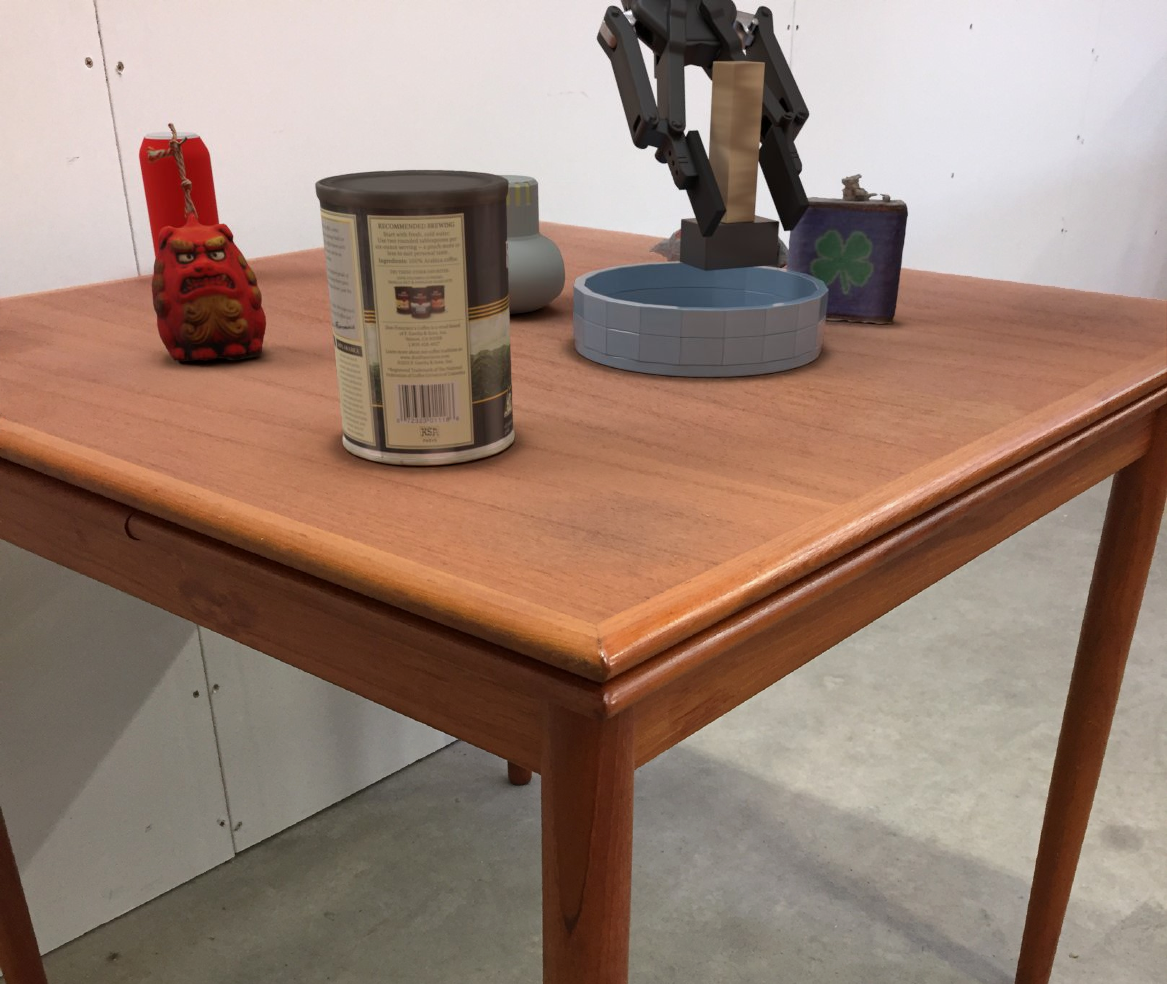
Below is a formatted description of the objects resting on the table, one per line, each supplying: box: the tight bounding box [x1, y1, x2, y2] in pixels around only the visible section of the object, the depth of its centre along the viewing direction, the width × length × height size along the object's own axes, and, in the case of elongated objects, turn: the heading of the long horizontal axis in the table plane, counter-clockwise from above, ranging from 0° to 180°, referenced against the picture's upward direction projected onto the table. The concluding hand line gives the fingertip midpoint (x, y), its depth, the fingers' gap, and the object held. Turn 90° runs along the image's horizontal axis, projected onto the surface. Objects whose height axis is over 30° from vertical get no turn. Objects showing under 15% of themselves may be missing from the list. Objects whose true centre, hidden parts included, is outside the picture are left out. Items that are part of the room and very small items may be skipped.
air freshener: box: [498, 174, 566, 315], centre depth 104 cm, size 11×8×10 cm
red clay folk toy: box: [147, 122, 267, 363], centre depth 89 cm, size 8×7×15 cm
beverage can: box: [138, 131, 220, 259], centre depth 115 cm, size 6×6×12 cm
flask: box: [785, 173, 909, 325], centre depth 102 cm, size 9×3×11 cm, turn 71°
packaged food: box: [648, 228, 789, 269], centre depth 118 cm, size 9×12×5 cm
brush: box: [680, 61, 780, 271], centre depth 90 cm, size 6×4×13 cm, turn 114°
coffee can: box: [314, 169, 516, 466], centre depth 71 cm, size 10×10×14 cm
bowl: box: [572, 261, 829, 378], centre depth 94 cm, size 19×19×4 cm
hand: (756, 220), depth 89 cm, fingers closed on brush, 6 cm apart
